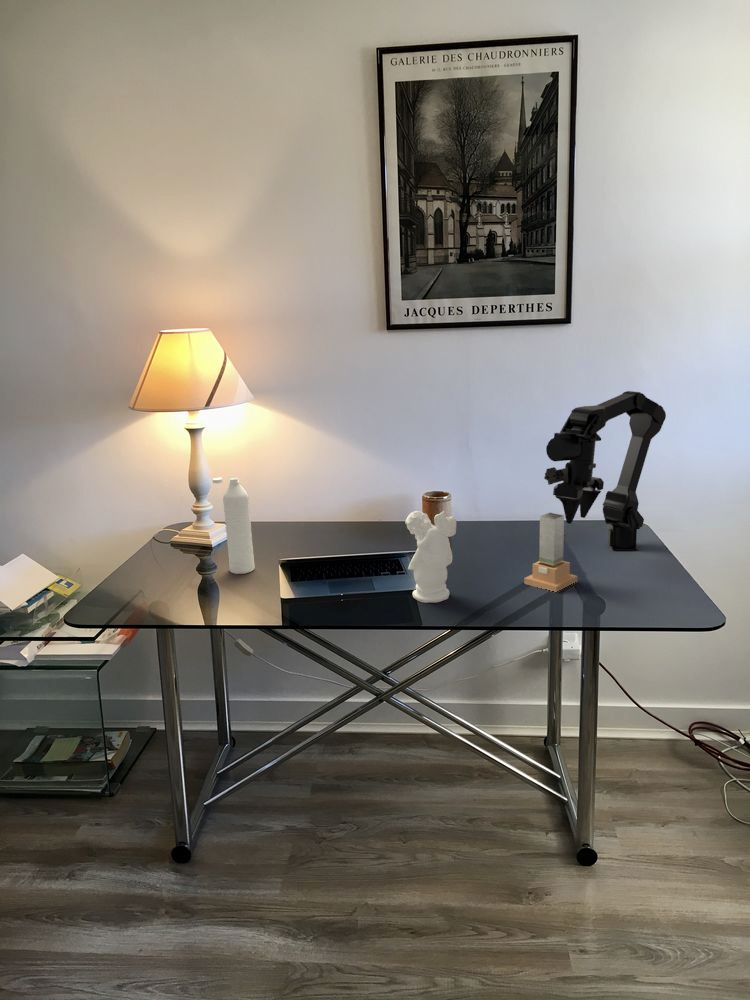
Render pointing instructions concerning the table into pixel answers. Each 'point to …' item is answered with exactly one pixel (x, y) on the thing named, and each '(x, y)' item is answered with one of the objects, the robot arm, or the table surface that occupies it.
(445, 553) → the cherub figurine
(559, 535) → the column
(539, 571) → the stand
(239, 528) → the water bottle
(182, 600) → the table surface
